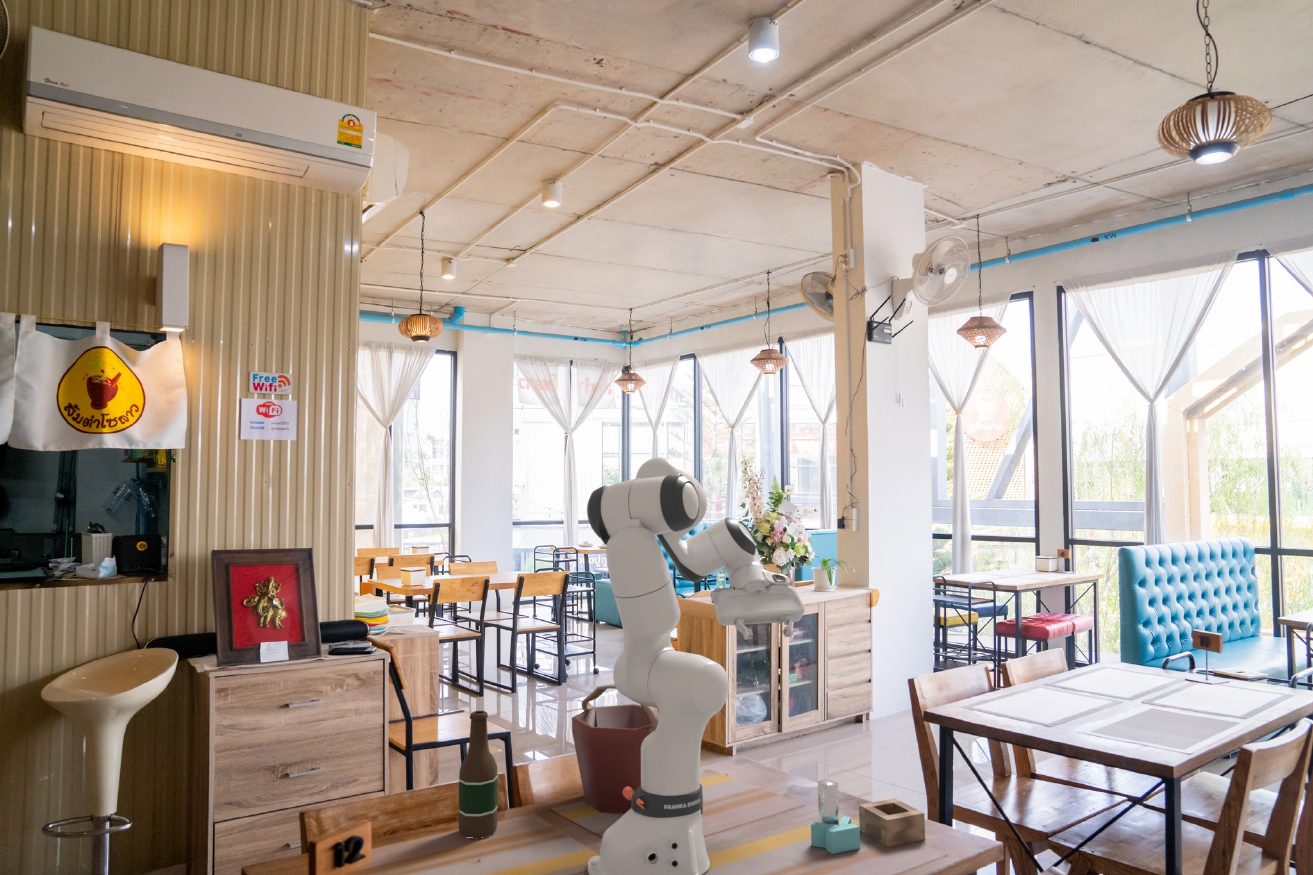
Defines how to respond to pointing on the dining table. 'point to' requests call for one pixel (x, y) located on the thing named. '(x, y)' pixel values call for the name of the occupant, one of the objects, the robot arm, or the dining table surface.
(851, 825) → the teal V-block
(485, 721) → the beer bottle
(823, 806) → the steel axle
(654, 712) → the bucket
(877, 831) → the walnut block
